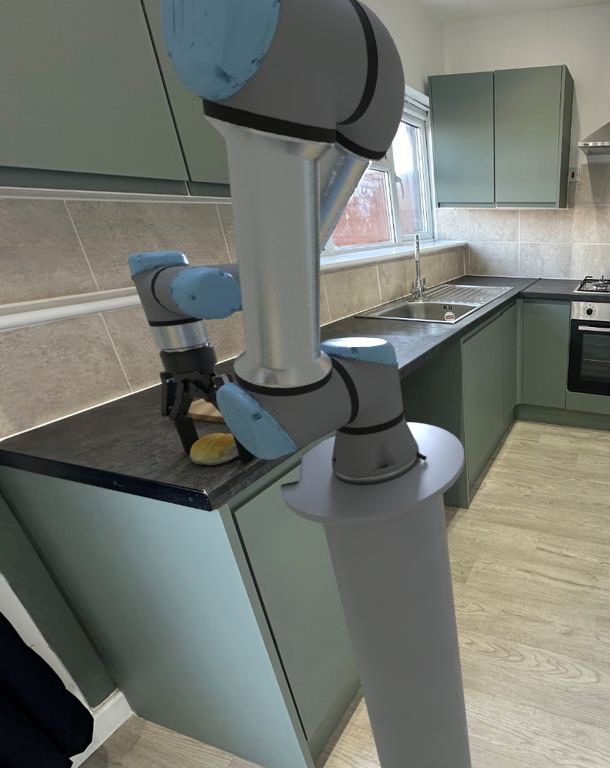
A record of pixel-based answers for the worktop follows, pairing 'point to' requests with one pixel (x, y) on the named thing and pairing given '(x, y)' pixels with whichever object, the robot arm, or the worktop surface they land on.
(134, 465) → the worktop surface
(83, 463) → the worktop surface
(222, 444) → the bread roll
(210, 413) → the cutting board
